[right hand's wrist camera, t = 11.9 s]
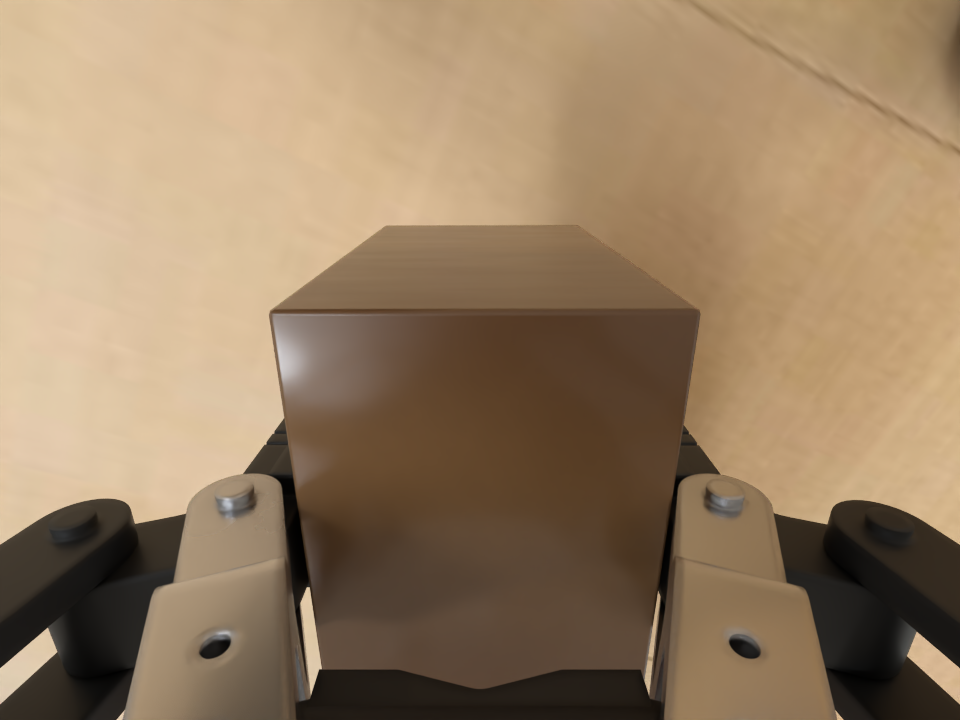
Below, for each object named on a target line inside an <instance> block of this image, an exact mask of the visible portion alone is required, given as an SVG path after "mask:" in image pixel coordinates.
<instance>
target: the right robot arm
mask: <svg viewBox="0 0 960 720" xmlns="http://www.w3.org/2000/svg"><path fill="white" fill-rule="evenodd" d="M307 587H310V585H309V578H308V571H307V565H306V558H305V551H304V545H303V538H302V531H301V525H300V518H299V511H298V505H297V498H296V491H295V485H294V478H293V471H292V465H291V458H290V451H289V445H288V438H287V431H286V425H285V418H284V419H283V421H282V422H281V423H280V425H279V426H278V427H277V429H276V430H275V434H272V436H271V437H270V438H269V440H268V441H267V445H264V446H263V448H262V449H261V450H260V452H259V453H258V454H257V456H256V457H255V459H254V460H253V461H252V463H251V464H250V465H249V467H248V468H247V469H246V471H245V472H244V473H243V474H241V475H236V476H231V477H228V478H225V479H222V480H219V481H217V482H214V483H212V484H210V485H208V486H207V487H205V488H204V489H202V490H201V491H200V492H198V493H197V494H196V495H195V496H194V497H193V498H192V500H191V501H190V503H189V505H188V508H187V513H186V514H183V515H179V516H174V517H169V518H164V519H159V520H154V521H149V522H144V523H138V524H135V523H134V519H133V516H132V512H131V509H130V507H129V505H128V504H126V503H125V502H123V501H120V500H116V499H96V500H89V501H84V502H80V503H76V504H73V505H70V506H67V507H64V508H62V509H59V510H57V511H55V512H53V513H50V514H48V515H46V516H45V517H43V518H41V519H40V520H38V521H36V522H35V523H33V524H32V525H30V526H29V527H27V528H26V529H24V530H22V531H21V532H19V533H18V534H16V535H15V536H13V537H12V538H10V539H9V540H7V541H5V542H4V543H2V544H1V545H0V668H1V667H2V666H3V665H4V664H6V663H7V662H8V661H9V660H10V659H11V658H13V657H14V656H15V655H16V654H17V653H18V652H20V651H21V650H22V649H23V648H24V647H25V646H27V645H28V644H29V643H30V642H31V641H32V640H34V639H35V638H36V637H37V636H38V635H39V634H41V633H42V632H43V631H44V630H45V629H47V628H48V629H49V631H50V634H51V636H52V639H53V641H54V644H55V646H56V649H57V651H58V652H57V653H56V654H55V655H54V656H53V657H52V658H51V659H50V660H48V661H47V662H46V663H45V664H44V665H43V666H42V667H41V668H40V669H39V670H38V671H36V672H35V673H34V674H33V675H32V676H31V677H30V678H29V679H28V680H27V681H25V682H24V683H23V684H22V685H21V686H20V687H19V688H18V689H17V690H16V691H15V692H13V693H12V694H11V695H10V696H9V697H8V698H7V699H6V700H5V701H4V702H2V703H1V704H0V720H116V719H117V718H118V717H119V716H120V715H121V714H122V712H123V711H124V710H125V712H124V716H123V720H837V716H836V712H835V710H836V711H837V712H838V714H839V715H840V716H841V717H842V718H843V719H844V720H960V704H959V703H958V702H956V701H955V700H954V699H953V698H952V697H951V696H950V695H949V694H948V693H947V692H945V691H944V690H943V689H942V688H941V687H940V686H939V685H938V684H937V683H936V682H935V681H933V680H932V679H931V678H930V677H929V676H928V675H927V674H926V673H925V672H924V671H923V670H921V669H920V668H919V667H918V666H917V665H916V664H915V663H914V662H913V661H912V660H910V659H909V658H908V657H907V654H908V652H909V649H910V647H911V644H912V642H913V639H914V637H915V634H916V632H918V633H919V634H921V635H922V636H923V637H924V638H925V639H926V640H928V641H929V642H930V643H931V644H932V645H933V646H935V647H936V648H937V649H938V650H939V651H940V652H942V653H943V654H944V655H945V656H946V657H947V658H949V659H950V660H951V661H952V662H953V663H955V664H956V665H957V666H958V667H959V668H960V545H959V544H958V543H956V542H955V541H953V540H951V539H950V538H948V537H947V536H945V535H944V534H942V533H941V532H939V531H938V530H936V529H934V528H933V527H931V526H930V525H928V524H927V523H925V522H924V521H922V520H920V519H918V518H917V517H915V516H913V515H911V514H909V513H907V512H904V511H902V510H899V509H897V508H894V507H891V506H888V505H884V504H880V503H876V502H871V501H863V500H849V501H844V502H840V503H838V504H836V505H835V506H834V507H833V509H832V511H831V514H830V517H829V521H828V524H827V525H826V524H821V523H816V522H811V521H806V520H801V519H796V518H790V517H786V516H782V515H778V514H775V513H773V508H772V505H771V503H770V501H769V500H768V498H767V497H766V496H765V495H764V494H763V493H762V492H760V491H759V490H758V489H756V488H755V487H753V486H752V485H750V484H748V483H746V482H743V481H741V480H738V479H735V478H732V477H729V476H724V475H721V474H720V473H719V472H718V470H717V469H716V468H715V466H714V465H713V464H712V462H711V461H710V460H709V458H708V457H707V456H706V454H705V453H704V452H703V450H702V449H701V448H700V446H697V442H696V441H695V440H694V438H693V437H692V436H691V435H689V432H688V430H687V429H686V428H685V426H684V425H683V431H682V437H681V444H680V451H679V457H678V464H677V470H676V477H675V483H674V490H673V496H672V503H671V509H670V516H669V522H668V529H667V535H666V542H665V548H664V555H663V561H662V568H661V574H660V581H659V588H658V591H659V594H660V596H661V598H660V604H659V610H658V616H657V626H656V636H655V646H654V655H653V665H652V675H651V685H650V695H649V694H648V691H647V688H646V685H645V682H644V678H643V675H642V672H641V669H562V670H558V671H554V672H550V673H546V674H542V675H538V676H534V677H530V678H526V679H522V680H518V681H514V682H510V683H506V684H502V685H499V686H495V687H491V688H485V689H475V688H469V687H465V686H461V685H458V684H454V683H450V682H446V681H442V680H438V679H434V678H430V677H426V676H422V675H418V674H414V673H410V672H406V671H402V670H398V669H319V672H318V675H317V678H316V682H315V685H314V688H313V691H312V694H311V695H310V685H309V675H308V665H307V656H306V646H305V636H304V626H303V616H302V610H301V604H300V602H301V600H302V598H303V595H304V593H305V590H306V588H307Z"/></svg>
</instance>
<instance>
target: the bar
mask: <svg viewBox="0 0 960 720" xmlns="http://www.w3.org/2000/svg"><path fill="white" fill-rule="evenodd" d="M269 318H270V325H271V331H272V338H273V345H274V351H275V358H276V365H277V371H278V378H279V385H280V391H281V398H282V405H283V411H284V418H285V425H286V431H287V438H288V445H289V451H290V458H291V465H292V471H293V478H294V485H295V491H296V498H297V505H298V511H299V518H300V525H301V531H302V538H303V545H304V551H305V558H306V565H307V571H308V578H309V585H310V591H311V598H312V605H313V611H314V618H315V625H316V631H317V638H318V645H319V651H320V658H321V665H322V669H398V670H402V671H406V672H410V673H414V674H418V675H422V676H426V677H430V678H434V679H438V680H442V681H446V682H450V683H454V684H458V685H461V686H465V687H469V688H475V689H485V688H491V687H495V686H499V685H502V684H506V683H510V682H514V681H518V680H522V679H526V678H530V677H534V676H538V675H542V674H546V673H550V672H554V671H558V670H562V669H641V672H642V675H643V678H644V679H645V672H646V666H647V659H648V653H649V646H650V640H651V633H652V627H653V620H654V614H655V607H656V601H657V594H658V588H659V581H660V574H661V568H662V561H663V555H664V548H665V542H666V535H667V529H668V522H669V516H670V509H671V503H672V496H673V490H674V483H675V477H676V470H677V464H678V457H679V451H680V444H681V437H682V431H683V424H684V418H685V411H686V405H687V398H688V392H689V385H690V379H691V372H692V366H693V359H694V353H695V346H696V340H697V333H698V327H699V320H700V311H699V309H697V308H696V307H694V306H693V305H691V304H690V303H688V302H687V301H686V300H684V299H683V298H681V297H680V296H678V295H677V294H676V293H674V292H673V291H671V290H670V289H668V288H667V287H666V286H664V285H663V284H661V283H660V282H658V281H657V280H655V279H654V278H653V277H651V276H650V275H648V274H647V273H645V272H644V271H643V270H641V269H640V268H638V267H637V266H635V265H634V264H632V263H631V262H630V261H628V260H627V259H625V258H624V257H622V256H621V255H620V254H618V253H617V252H615V251H614V250H612V249H611V248H610V247H608V246H607V245H605V244H604V243H602V242H601V241H599V240H598V239H597V238H595V237H594V236H592V235H591V234H589V233H588V232H587V231H585V230H584V229H582V228H581V227H579V226H577V225H504V226H385V227H384V228H382V229H381V230H379V231H378V232H377V233H375V234H374V235H373V236H371V237H370V238H369V239H367V240H366V241H364V242H363V243H362V244H360V245H359V246H358V247H356V248H355V249H354V250H352V251H351V252H349V253H348V254H347V255H345V256H344V257H343V258H341V259H340V260H339V261H337V262H336V263H334V264H333V265H332V266H330V267H329V268H328V269H326V270H325V271H324V272H322V273H321V274H319V275H318V276H317V277H315V278H314V279H313V280H311V281H310V282H309V283H307V284H306V285H304V286H303V287H302V288H300V289H299V290H298V291H296V292H295V293H294V294H292V295H291V296H289V297H288V298H287V299H285V300H284V301H283V302H281V303H280V304H279V305H277V306H276V307H274V308H273V309H272V310H270V313H269Z"/></svg>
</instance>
